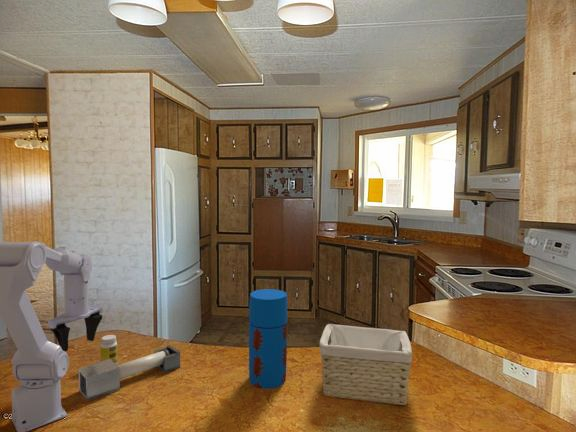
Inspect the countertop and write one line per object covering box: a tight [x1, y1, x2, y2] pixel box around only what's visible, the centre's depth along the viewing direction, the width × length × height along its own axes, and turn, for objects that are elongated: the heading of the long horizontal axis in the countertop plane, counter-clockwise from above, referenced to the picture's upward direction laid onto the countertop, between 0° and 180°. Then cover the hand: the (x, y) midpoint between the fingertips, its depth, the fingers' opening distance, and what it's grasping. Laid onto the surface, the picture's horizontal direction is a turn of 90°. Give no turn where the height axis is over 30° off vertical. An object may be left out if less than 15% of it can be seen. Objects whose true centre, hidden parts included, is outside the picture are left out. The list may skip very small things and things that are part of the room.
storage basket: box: [319, 323, 413, 406], centre depth 102 cm, size 24×16×15 cm
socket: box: [153, 344, 181, 374], centre depth 113 cm, size 5×7×5 cm
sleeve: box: [78, 359, 121, 402], centre depth 99 cm, size 8×7×6 cm
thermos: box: [248, 288, 288, 390], centre depth 105 cm, size 11×11×25 cm
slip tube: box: [116, 349, 170, 380], centre depth 107 cm, size 16×4×4 cm, turn 136°
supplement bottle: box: [99, 334, 118, 365], centre depth 114 cm, size 5×5×8 cm
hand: (77, 345), depth 103 cm, fingers open, 7 cm apart
